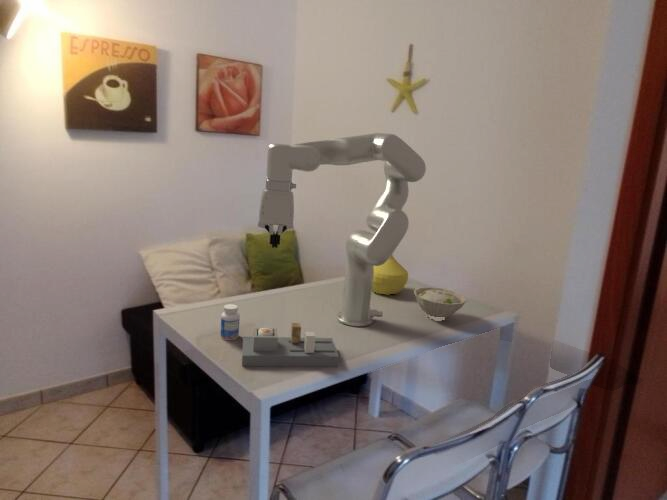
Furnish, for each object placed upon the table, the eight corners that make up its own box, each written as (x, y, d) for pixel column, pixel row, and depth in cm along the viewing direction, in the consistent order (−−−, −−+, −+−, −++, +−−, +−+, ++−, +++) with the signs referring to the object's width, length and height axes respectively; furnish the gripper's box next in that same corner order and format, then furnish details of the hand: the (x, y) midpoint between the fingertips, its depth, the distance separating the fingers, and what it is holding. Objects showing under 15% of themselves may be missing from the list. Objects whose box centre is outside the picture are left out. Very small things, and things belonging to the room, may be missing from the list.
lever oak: (298, 339, 137) (300, 323, 136) (299, 343, 134) (301, 327, 133) (290, 339, 137) (291, 322, 136) (291, 343, 134) (292, 326, 133)
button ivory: (271, 341, 133) (272, 327, 132) (272, 347, 130) (273, 333, 129) (257, 341, 133) (258, 327, 132) (257, 347, 129) (258, 333, 128)
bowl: (440, 332, 161) (445, 304, 159) (399, 313, 176) (402, 287, 173) (473, 322, 174) (478, 296, 171) (432, 305, 188) (436, 281, 186)
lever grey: (312, 348, 132) (314, 331, 131) (313, 353, 129) (315, 336, 128) (304, 348, 132) (305, 331, 131) (305, 352, 129) (306, 335, 128)
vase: (353, 288, 200) (358, 244, 196) (382, 282, 213) (387, 241, 209) (386, 301, 188) (392, 255, 183) (414, 294, 200) (420, 250, 196)
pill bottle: (221, 332, 144) (223, 302, 142) (239, 333, 145) (241, 303, 143) (219, 340, 139) (220, 309, 137) (237, 341, 140) (239, 310, 137)
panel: (331, 347, 141) (333, 325, 140) (338, 366, 130) (340, 342, 128) (242, 346, 137) (243, 323, 135) (241, 365, 125) (243, 341, 123)
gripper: (302, 187, 145) (297, 245, 149) (252, 183, 142) (249, 242, 146) (304, 190, 138) (300, 251, 142) (252, 186, 135) (249, 248, 139)
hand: (274, 246), depth 144 cm, fingers closed
